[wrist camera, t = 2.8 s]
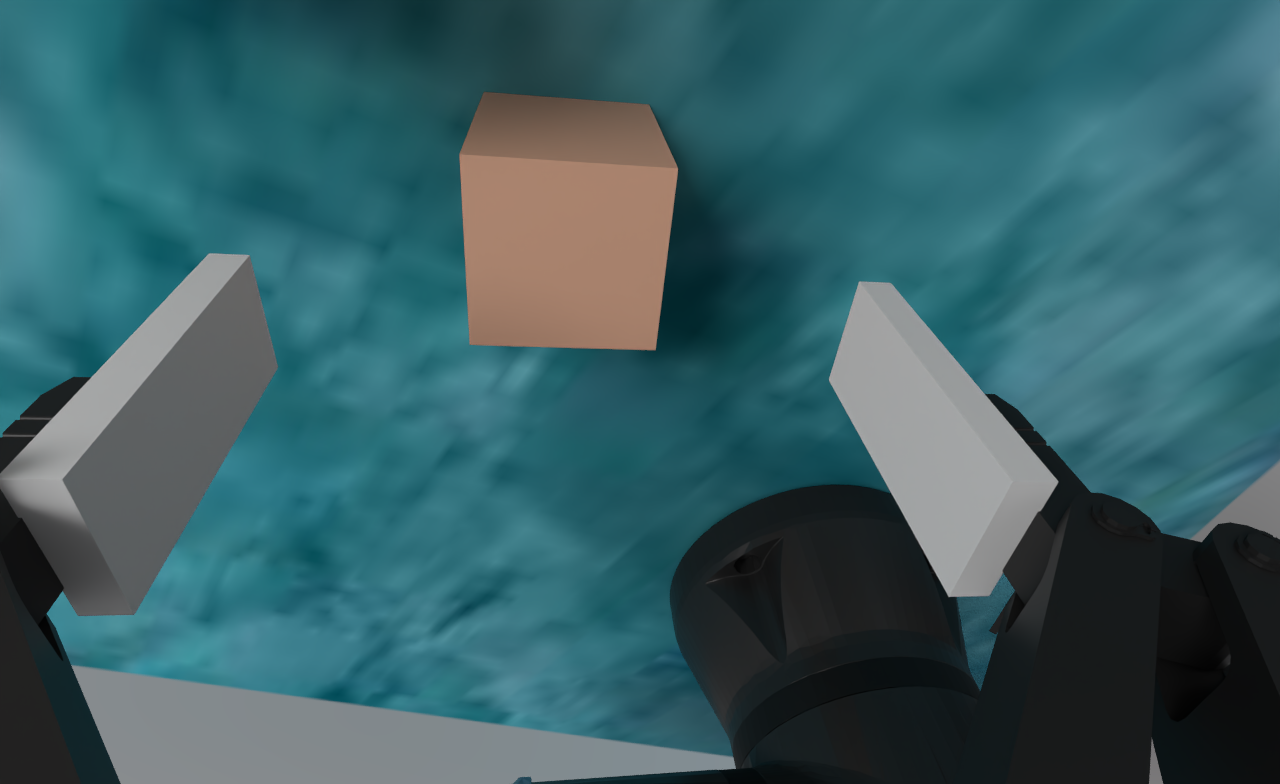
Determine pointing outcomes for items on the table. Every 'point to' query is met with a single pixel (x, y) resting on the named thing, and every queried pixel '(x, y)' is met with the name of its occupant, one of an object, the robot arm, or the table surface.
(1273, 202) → the table surface
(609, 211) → the terracotta block
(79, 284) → the table surface
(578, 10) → the table surface
